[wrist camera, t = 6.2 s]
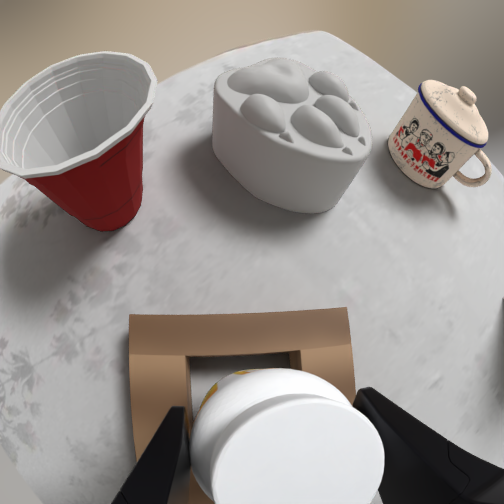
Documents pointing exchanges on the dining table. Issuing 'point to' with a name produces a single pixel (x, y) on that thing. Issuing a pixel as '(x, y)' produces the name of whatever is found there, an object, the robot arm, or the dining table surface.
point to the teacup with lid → (440, 136)
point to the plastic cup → (82, 135)
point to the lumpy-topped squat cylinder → (289, 133)
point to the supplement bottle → (283, 442)
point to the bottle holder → (225, 345)
